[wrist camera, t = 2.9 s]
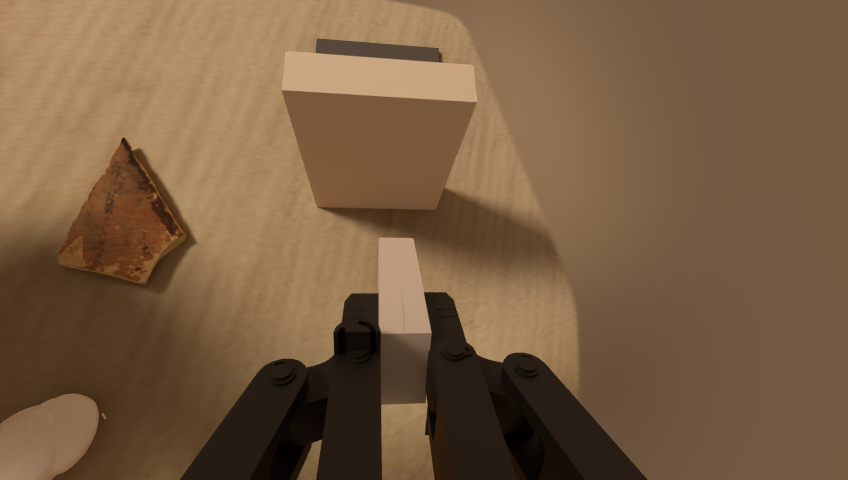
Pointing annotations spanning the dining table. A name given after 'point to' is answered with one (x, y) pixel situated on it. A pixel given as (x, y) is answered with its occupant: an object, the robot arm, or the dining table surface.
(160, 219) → the shard
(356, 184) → the glazed tile
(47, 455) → the dumpling
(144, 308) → the dining table surface
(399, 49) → the rubber mat
